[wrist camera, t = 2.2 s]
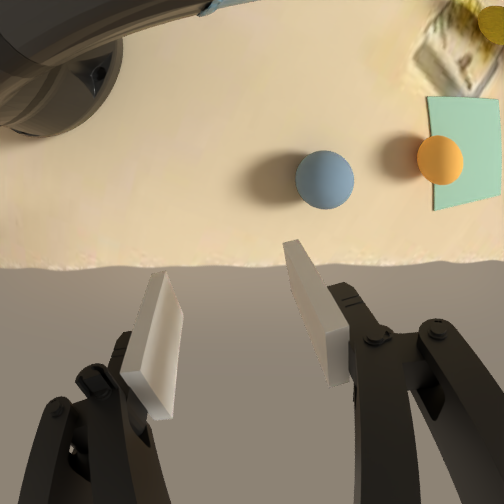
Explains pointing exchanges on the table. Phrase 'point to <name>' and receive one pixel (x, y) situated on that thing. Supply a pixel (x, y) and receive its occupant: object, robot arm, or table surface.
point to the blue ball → (324, 179)
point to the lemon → (492, 23)
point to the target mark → (469, 147)
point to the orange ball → (440, 160)
